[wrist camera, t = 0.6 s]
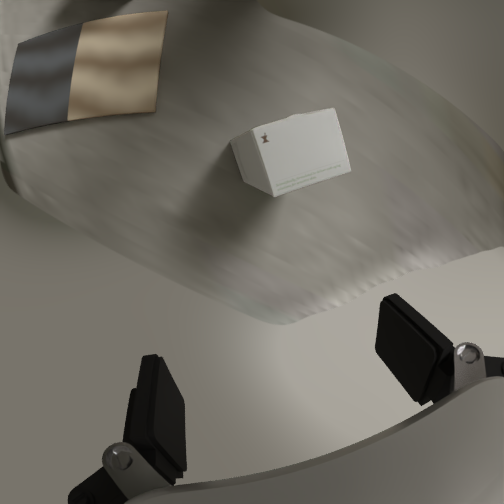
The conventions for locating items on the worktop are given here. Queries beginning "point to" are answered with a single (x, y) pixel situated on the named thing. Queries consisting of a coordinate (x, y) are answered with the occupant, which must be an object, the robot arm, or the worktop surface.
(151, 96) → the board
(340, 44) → the worktop surface
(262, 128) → the skincare box
